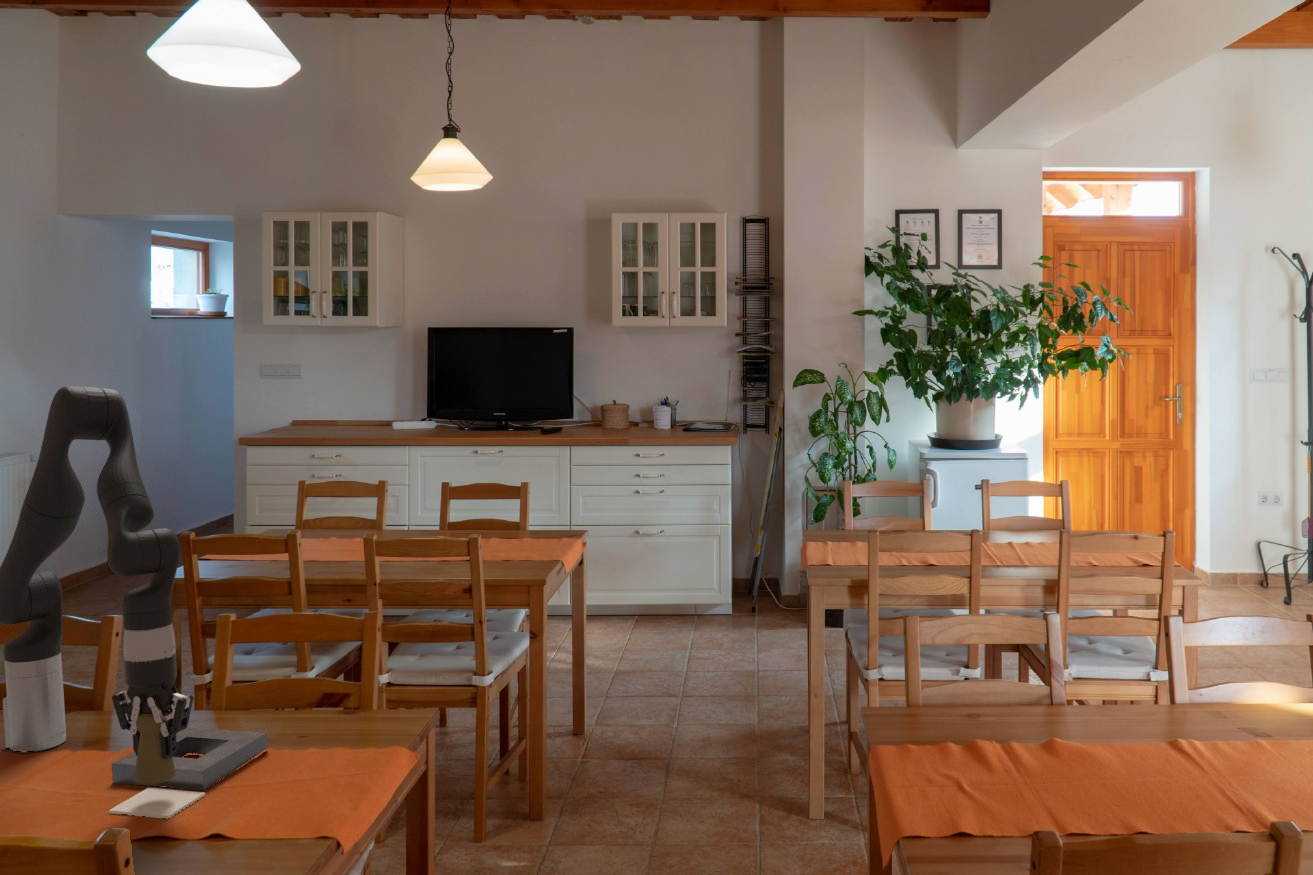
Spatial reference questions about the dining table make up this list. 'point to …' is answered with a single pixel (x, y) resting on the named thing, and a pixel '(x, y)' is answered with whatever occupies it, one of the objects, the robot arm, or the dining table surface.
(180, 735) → the frame
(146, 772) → the cork
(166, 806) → the pad
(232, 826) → the dining table surface
